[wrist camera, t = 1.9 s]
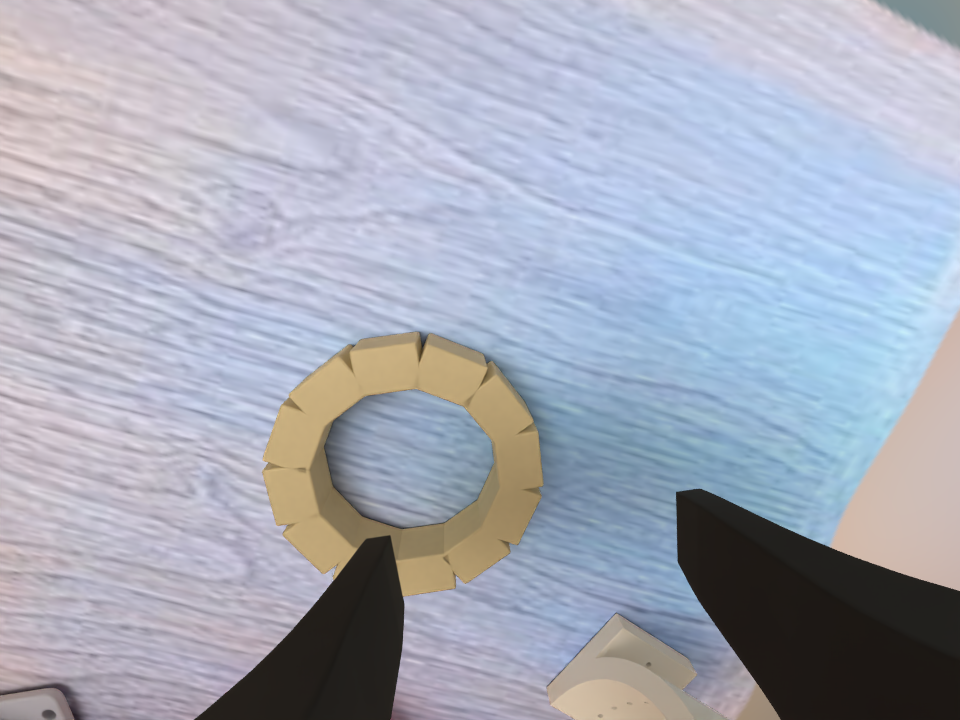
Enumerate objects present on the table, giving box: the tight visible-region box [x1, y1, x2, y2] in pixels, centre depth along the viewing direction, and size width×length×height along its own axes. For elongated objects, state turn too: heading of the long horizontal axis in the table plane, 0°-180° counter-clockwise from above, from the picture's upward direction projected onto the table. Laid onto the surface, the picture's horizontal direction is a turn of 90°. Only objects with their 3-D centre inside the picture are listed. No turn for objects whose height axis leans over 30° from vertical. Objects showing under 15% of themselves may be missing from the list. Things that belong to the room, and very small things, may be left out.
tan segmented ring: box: [262, 332, 544, 597], centre depth 17 cm, size 10×10×2 cm
